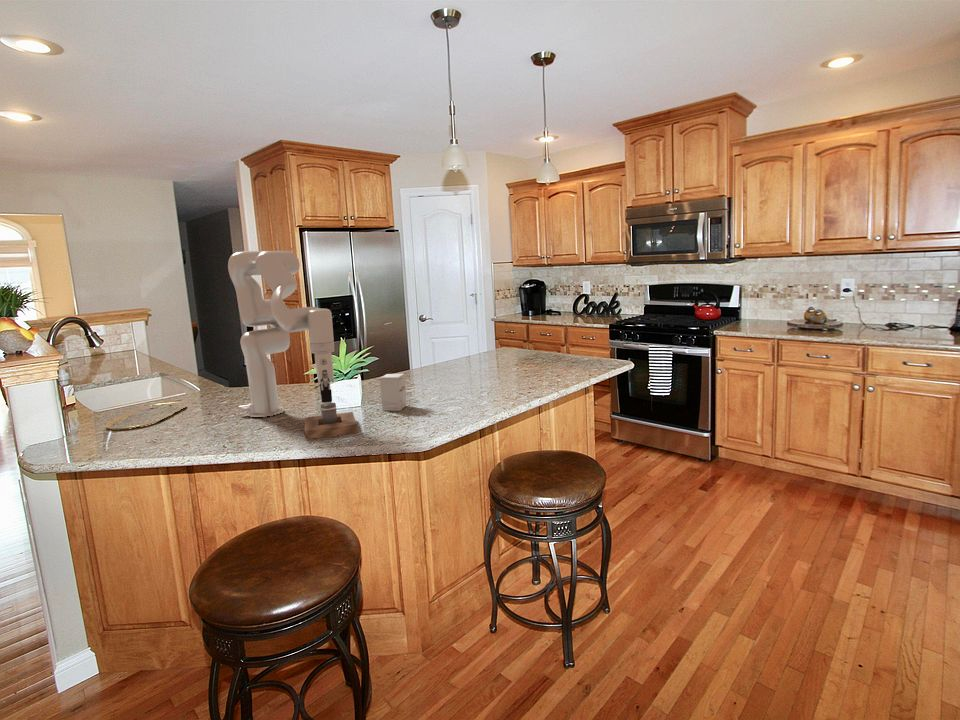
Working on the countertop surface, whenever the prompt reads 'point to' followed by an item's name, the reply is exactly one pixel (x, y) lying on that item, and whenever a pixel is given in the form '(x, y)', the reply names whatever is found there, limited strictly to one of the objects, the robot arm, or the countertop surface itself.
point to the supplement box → (393, 392)
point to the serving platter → (137, 425)
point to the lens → (329, 413)
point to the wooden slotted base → (330, 426)
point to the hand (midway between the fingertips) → (326, 398)
